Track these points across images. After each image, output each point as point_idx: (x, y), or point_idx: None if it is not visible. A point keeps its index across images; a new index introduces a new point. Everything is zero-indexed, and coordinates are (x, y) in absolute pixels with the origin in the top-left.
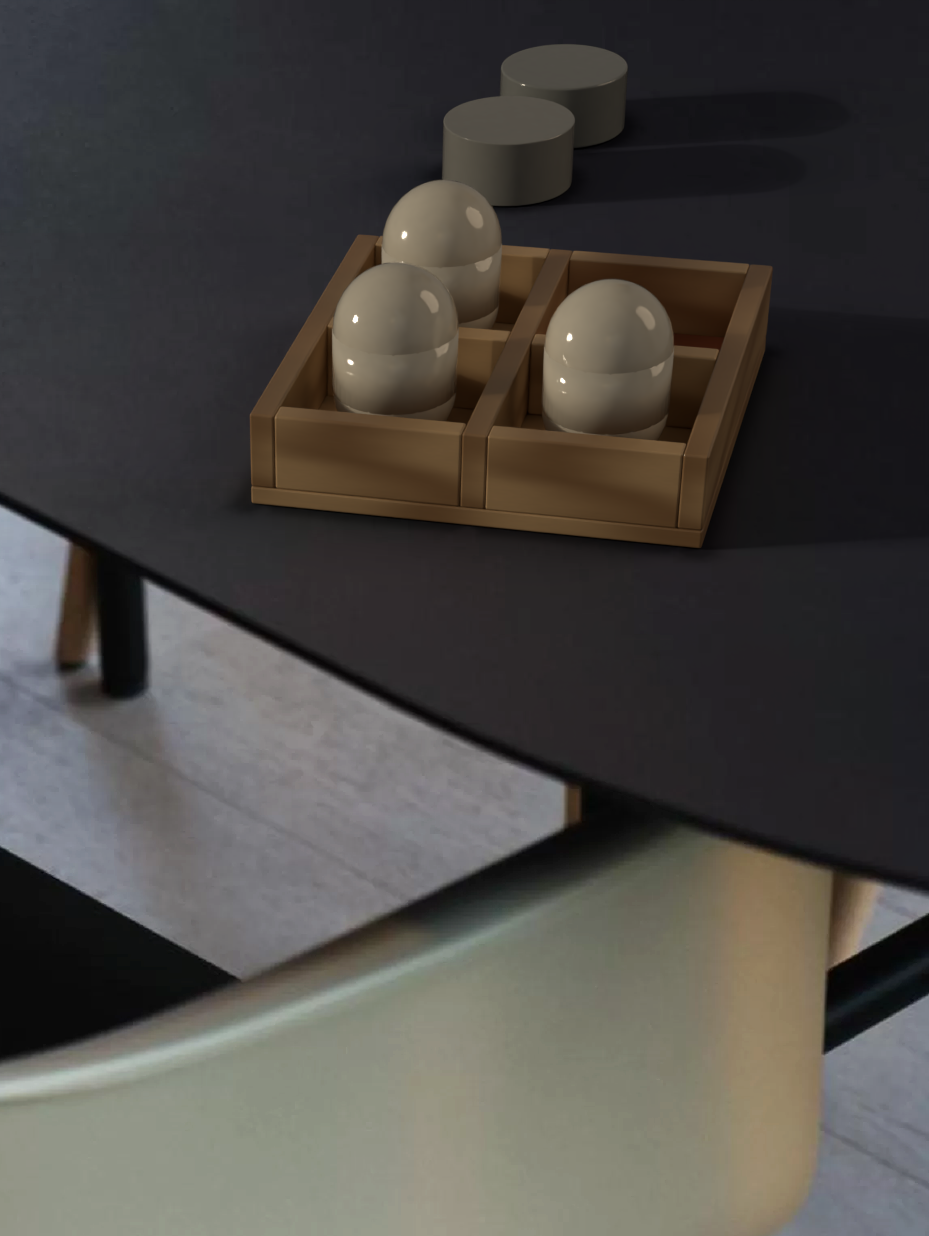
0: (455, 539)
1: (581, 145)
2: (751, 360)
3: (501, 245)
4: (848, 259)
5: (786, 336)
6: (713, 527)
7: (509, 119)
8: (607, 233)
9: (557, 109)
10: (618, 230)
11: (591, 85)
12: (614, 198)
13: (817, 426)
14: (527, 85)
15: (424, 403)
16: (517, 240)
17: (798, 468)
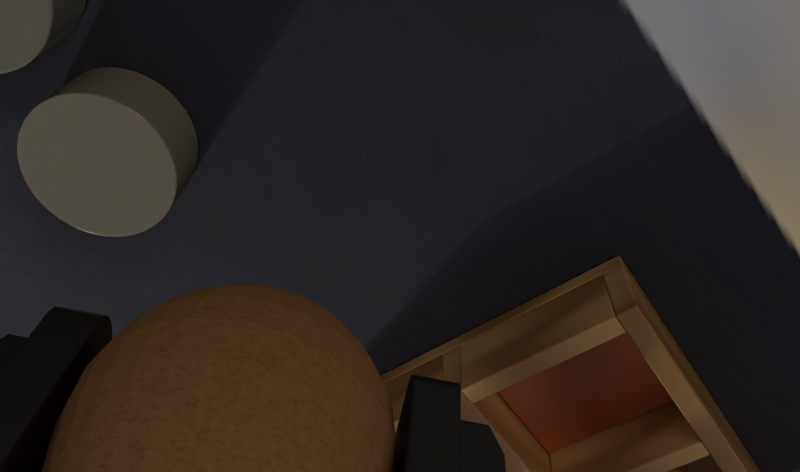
0: None
1: (83, 7)
2: (682, 362)
3: None
4: (548, 30)
5: (613, 216)
6: (759, 463)
7: (97, 169)
8: (307, 160)
9: (100, 108)
10: (308, 147)
11: (50, 18)
12: (235, 88)
13: (741, 321)
14: (1, 71)
15: None
16: (261, 230)
17: (766, 376)
